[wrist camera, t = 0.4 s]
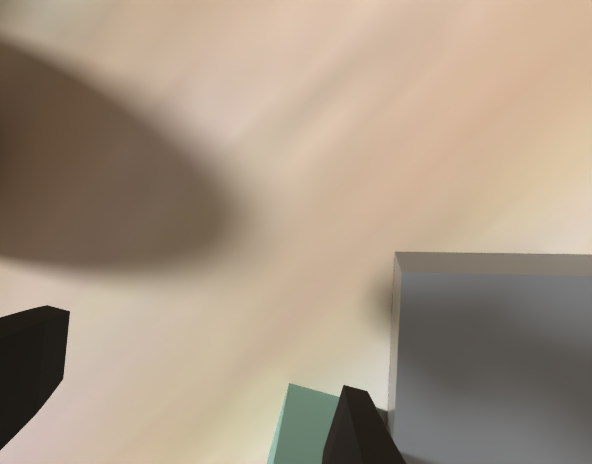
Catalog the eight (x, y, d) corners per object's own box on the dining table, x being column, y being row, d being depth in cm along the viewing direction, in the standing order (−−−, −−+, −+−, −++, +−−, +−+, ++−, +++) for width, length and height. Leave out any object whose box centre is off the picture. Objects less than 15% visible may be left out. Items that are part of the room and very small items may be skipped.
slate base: (634, 488, 22) (669, 536, 20) (385, 472, 23) (389, 515, 21) (688, 256, 19) (739, 278, 16) (394, 252, 20) (401, 272, 18)
